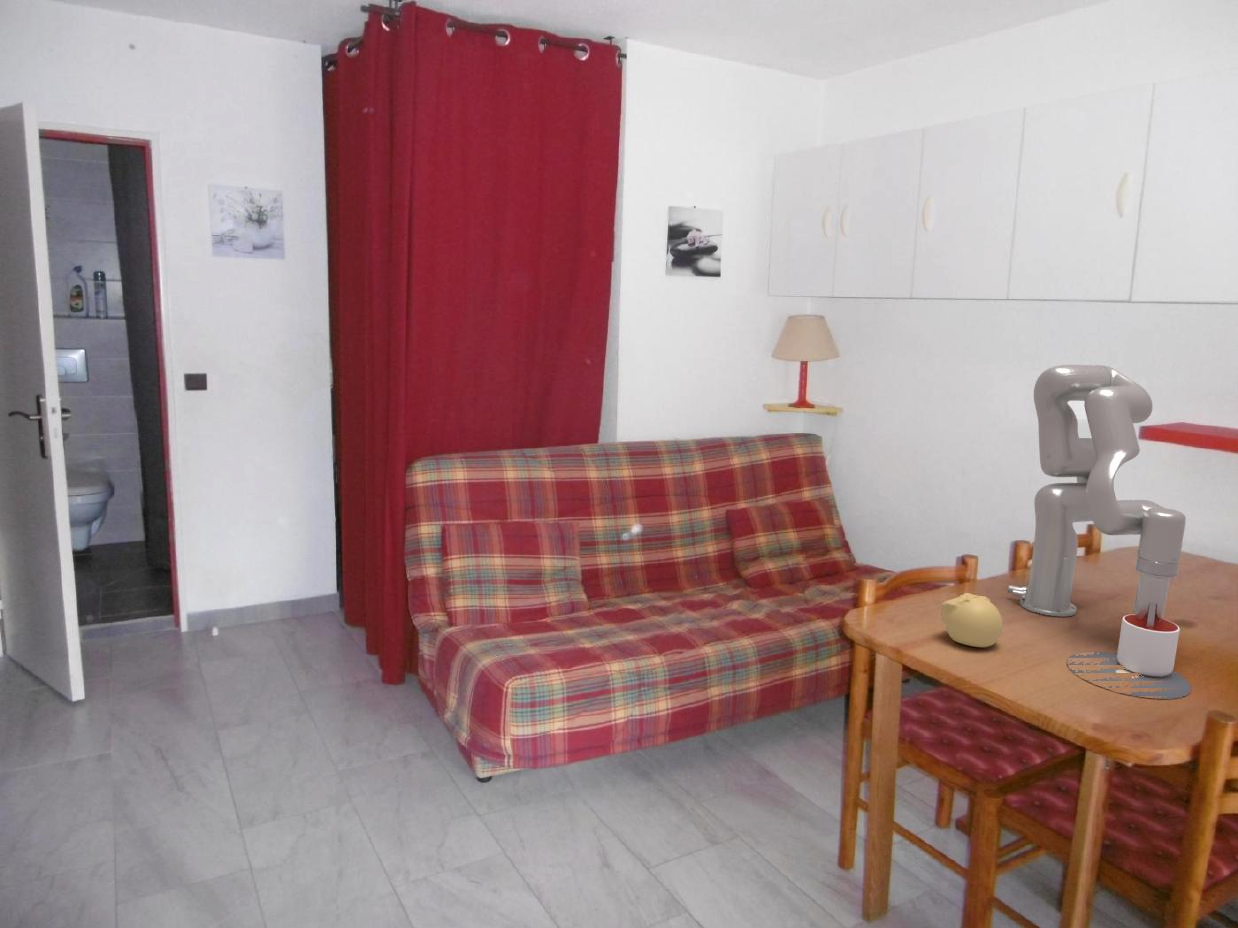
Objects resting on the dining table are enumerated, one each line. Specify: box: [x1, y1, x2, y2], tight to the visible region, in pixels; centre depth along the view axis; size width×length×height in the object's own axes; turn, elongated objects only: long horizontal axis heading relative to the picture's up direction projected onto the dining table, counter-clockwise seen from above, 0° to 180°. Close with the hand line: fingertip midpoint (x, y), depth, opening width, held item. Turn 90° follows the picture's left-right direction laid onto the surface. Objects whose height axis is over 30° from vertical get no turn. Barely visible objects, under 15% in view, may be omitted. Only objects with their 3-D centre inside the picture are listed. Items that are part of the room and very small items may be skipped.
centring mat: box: [1066, 651, 1192, 700], centre depth 172 cm, size 22×22×1 cm
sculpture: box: [940, 592, 1004, 648], centre depth 186 cm, size 12×12×11 cm
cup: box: [1117, 613, 1181, 677], centre depth 174 cm, size 10×10×10 cm
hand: (1144, 648), depth 182 cm, fingers closed
